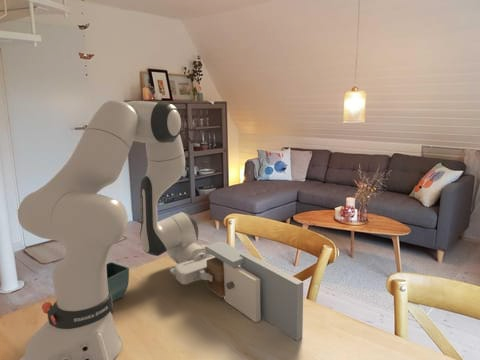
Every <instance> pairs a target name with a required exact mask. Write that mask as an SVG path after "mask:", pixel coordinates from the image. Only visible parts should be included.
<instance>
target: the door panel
mask: <svg viewBox="0 0 480 360" xmlns="http://www.w3.org/2000/svg"><path fill="white" fill-rule="evenodd" d="M224 288H225V296H224V301H226V302H227V303H228V304H230V305H231V306H232V307H234V309H236V310H238V311H239V312H240V313H242V314H244V316H246V317H247V318H249V319H250V320H252V322H254V323H258V322H260V321H261V318H262V317H261V316H260V279H259V278H258V277H256V276H254V275H253V274H251V273H249V272H247V271H246V270H244V269H242V268H240V265H238V266H236V267H232V266H230V265H228V264H226V263H225V262H224Z"/></svg>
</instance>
